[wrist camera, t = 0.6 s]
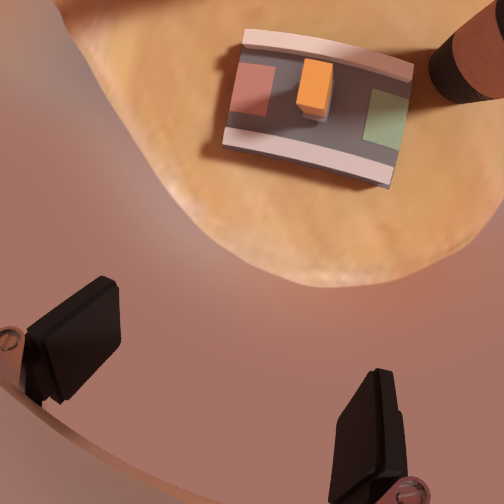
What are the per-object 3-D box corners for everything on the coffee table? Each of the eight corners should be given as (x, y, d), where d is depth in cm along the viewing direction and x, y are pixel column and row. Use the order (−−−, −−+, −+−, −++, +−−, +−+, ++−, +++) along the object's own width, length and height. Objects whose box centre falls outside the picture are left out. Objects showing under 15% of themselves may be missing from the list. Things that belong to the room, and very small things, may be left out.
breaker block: (254, 38, 29) (241, 23, 24) (407, 71, 26) (419, 60, 21) (232, 147, 35) (216, 148, 30) (383, 184, 32) (392, 192, 27)
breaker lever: (311, 78, 26) (303, 52, 18) (335, 83, 26) (336, 59, 18) (303, 118, 28) (292, 107, 20) (326, 123, 28) (325, 115, 19)
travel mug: (484, 65, 22) (584, 28, 4) (474, 117, 26) (585, 111, 7) (432, 36, 23) (507, -39, 5) (420, 88, 26) (507, 40, 8)
